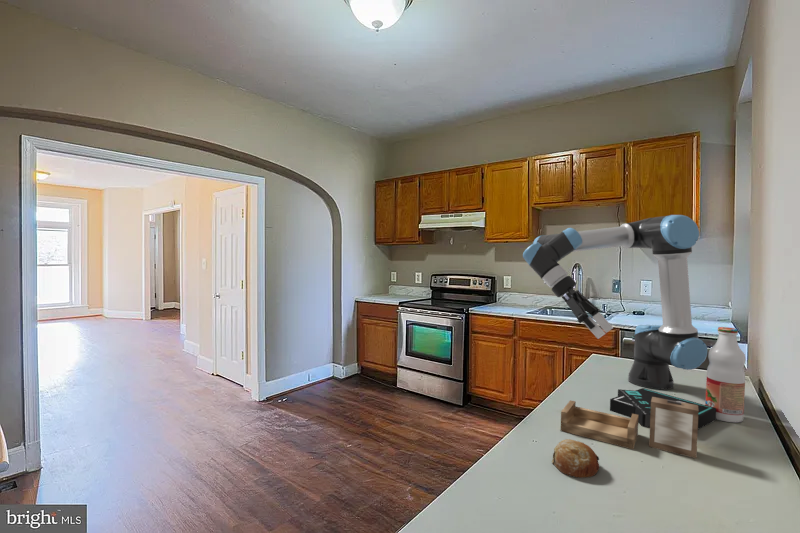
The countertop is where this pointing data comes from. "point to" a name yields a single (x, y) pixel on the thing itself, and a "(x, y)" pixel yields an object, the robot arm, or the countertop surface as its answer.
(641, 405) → the wall plaque
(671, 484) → the countertop surface
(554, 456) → the bread roll
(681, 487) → the countertop surface
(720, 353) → the fruit juice
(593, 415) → the wooden tray
